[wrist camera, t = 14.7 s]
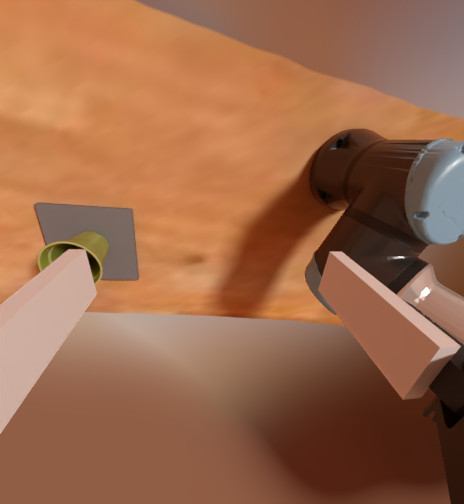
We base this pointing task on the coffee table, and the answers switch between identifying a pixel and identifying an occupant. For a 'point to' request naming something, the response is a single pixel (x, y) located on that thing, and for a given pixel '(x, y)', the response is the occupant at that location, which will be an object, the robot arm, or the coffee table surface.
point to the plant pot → (86, 240)
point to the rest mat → (102, 222)
